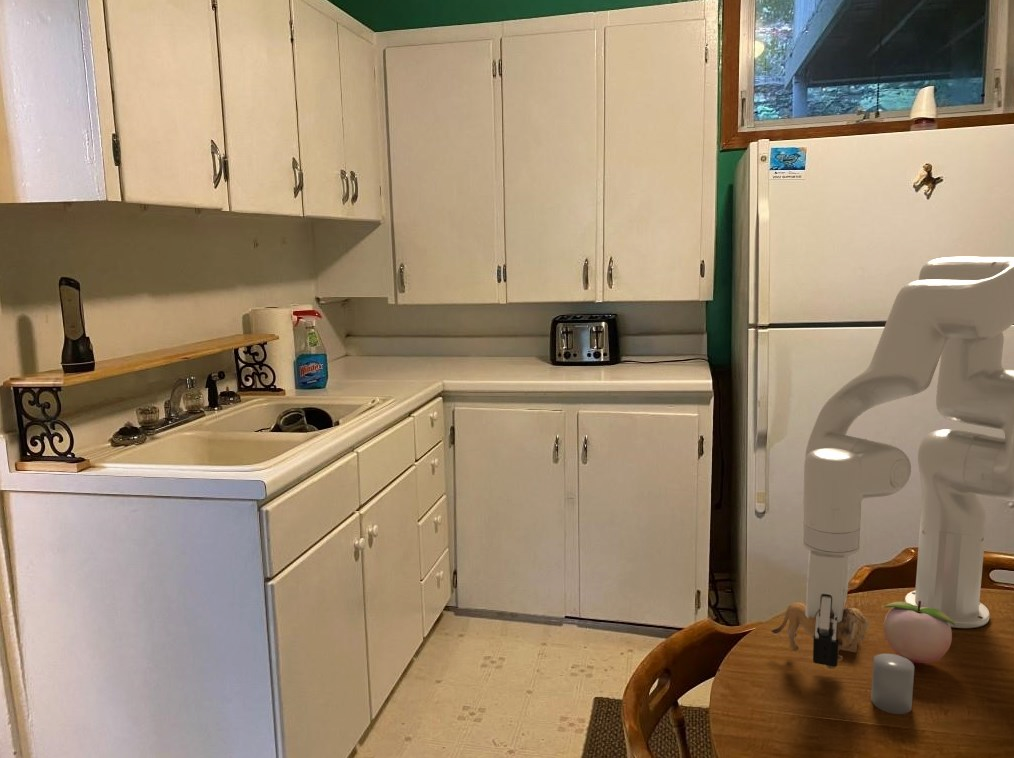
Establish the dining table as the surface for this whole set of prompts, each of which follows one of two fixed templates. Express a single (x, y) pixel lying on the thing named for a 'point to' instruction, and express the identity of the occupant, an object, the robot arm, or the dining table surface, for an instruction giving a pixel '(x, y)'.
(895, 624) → the decorative fruit
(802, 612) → the lion figurine
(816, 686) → the dining table surface
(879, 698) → the light grey cylinder
